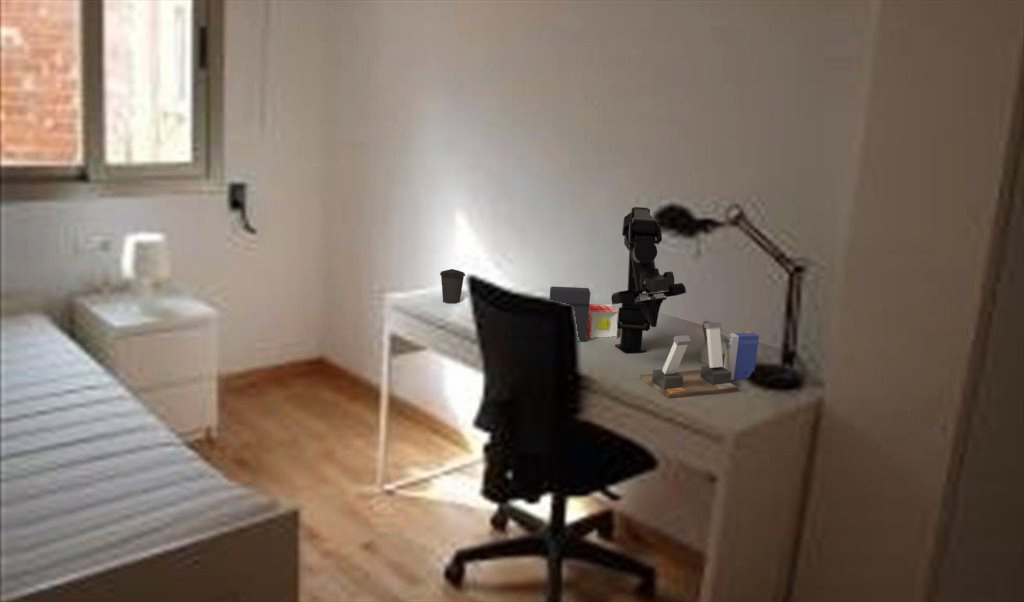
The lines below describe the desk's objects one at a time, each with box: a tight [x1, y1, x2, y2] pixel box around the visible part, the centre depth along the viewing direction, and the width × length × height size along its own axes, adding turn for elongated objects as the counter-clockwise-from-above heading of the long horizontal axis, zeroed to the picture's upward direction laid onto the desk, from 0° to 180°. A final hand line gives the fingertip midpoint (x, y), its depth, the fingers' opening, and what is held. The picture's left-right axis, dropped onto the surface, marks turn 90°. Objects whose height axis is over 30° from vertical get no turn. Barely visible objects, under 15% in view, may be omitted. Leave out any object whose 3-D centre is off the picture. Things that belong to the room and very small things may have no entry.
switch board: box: [639, 365, 740, 399], centre depth 238 cm, size 14×20×4 cm
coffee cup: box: [439, 268, 466, 305], centre depth 300 cm, size 8×8×10 cm
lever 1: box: [662, 334, 692, 374], centre depth 230 cm, size 2×4×11 cm, turn 113°
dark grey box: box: [548, 285, 591, 343], centre depth 268 cm, size 11×4×15 cm, turn 92°
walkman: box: [724, 331, 760, 380], centre depth 245 cm, size 8×3×12 cm, turn 107°
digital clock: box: [699, 320, 734, 368], centre depth 254 cm, size 16×9×11 cm, turn 12°
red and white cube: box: [587, 303, 619, 339], centre depth 276 cm, size 8×8×8 cm
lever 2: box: [704, 321, 723, 368], centre depth 240 cm, size 2×4×11 cm, turn 111°
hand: (654, 326), depth 244 cm, fingers closed
